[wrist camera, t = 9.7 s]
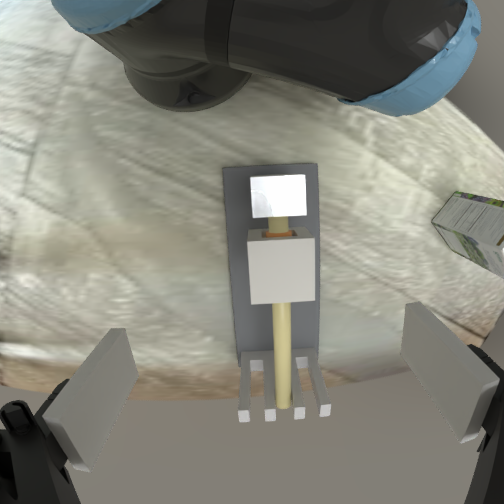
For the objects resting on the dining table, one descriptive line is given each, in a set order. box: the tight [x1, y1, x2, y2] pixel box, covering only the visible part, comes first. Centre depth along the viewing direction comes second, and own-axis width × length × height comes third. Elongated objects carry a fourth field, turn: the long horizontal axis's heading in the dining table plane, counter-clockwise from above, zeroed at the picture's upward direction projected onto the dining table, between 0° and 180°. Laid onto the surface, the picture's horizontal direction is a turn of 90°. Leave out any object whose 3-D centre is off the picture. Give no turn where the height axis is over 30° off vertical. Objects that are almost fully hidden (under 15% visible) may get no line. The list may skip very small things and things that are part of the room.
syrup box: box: [432, 191, 504, 279], centre depth 29 cm, size 6×6×14 cm
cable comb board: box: [223, 164, 331, 422], centre depth 32 cm, size 24×10×12 cm, turn 3°
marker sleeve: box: [247, 227, 315, 305], centre depth 27 cm, size 5×5×5 cm
